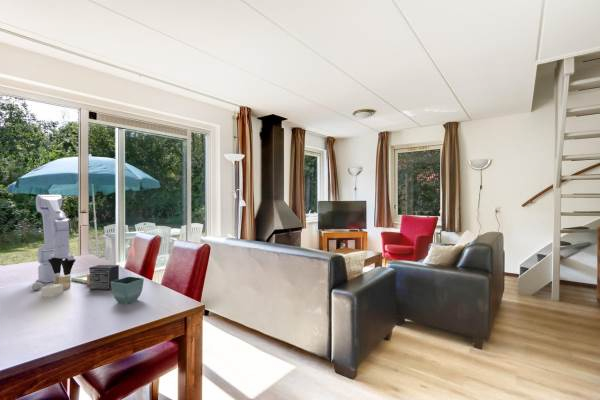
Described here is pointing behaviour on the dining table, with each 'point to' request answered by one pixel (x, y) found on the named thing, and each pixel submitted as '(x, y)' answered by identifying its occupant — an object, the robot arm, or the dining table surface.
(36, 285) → the grey ball
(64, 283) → the maple block
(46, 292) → the cream block
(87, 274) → the peach rounded cylinder
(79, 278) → the tray
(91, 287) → the small box
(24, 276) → the dining table surface
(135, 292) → the flower pot
